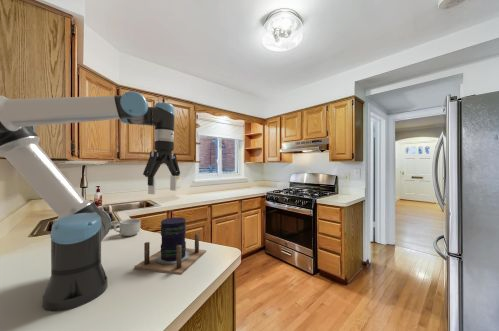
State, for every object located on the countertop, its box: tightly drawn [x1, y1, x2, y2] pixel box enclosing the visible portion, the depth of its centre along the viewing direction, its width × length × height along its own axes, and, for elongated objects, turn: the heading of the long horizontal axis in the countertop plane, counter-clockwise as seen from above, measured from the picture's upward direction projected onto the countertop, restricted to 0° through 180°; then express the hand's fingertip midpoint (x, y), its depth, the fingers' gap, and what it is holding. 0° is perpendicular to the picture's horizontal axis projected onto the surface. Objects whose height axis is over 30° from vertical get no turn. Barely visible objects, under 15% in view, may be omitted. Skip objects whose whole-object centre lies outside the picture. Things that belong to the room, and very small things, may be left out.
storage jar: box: [160, 217, 187, 262], centre depth 86 cm, size 10×10×15 cm
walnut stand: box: [134, 232, 207, 275], centre depth 86 cm, size 20×20×10 cm
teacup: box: [113, 218, 142, 237], centre depth 118 cm, size 14×11×8 cm
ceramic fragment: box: [110, 221, 120, 228], centre depth 138 cm, size 11×3×10 cm
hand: (163, 192), depth 85 cm, fingers open, 13 cm apart
